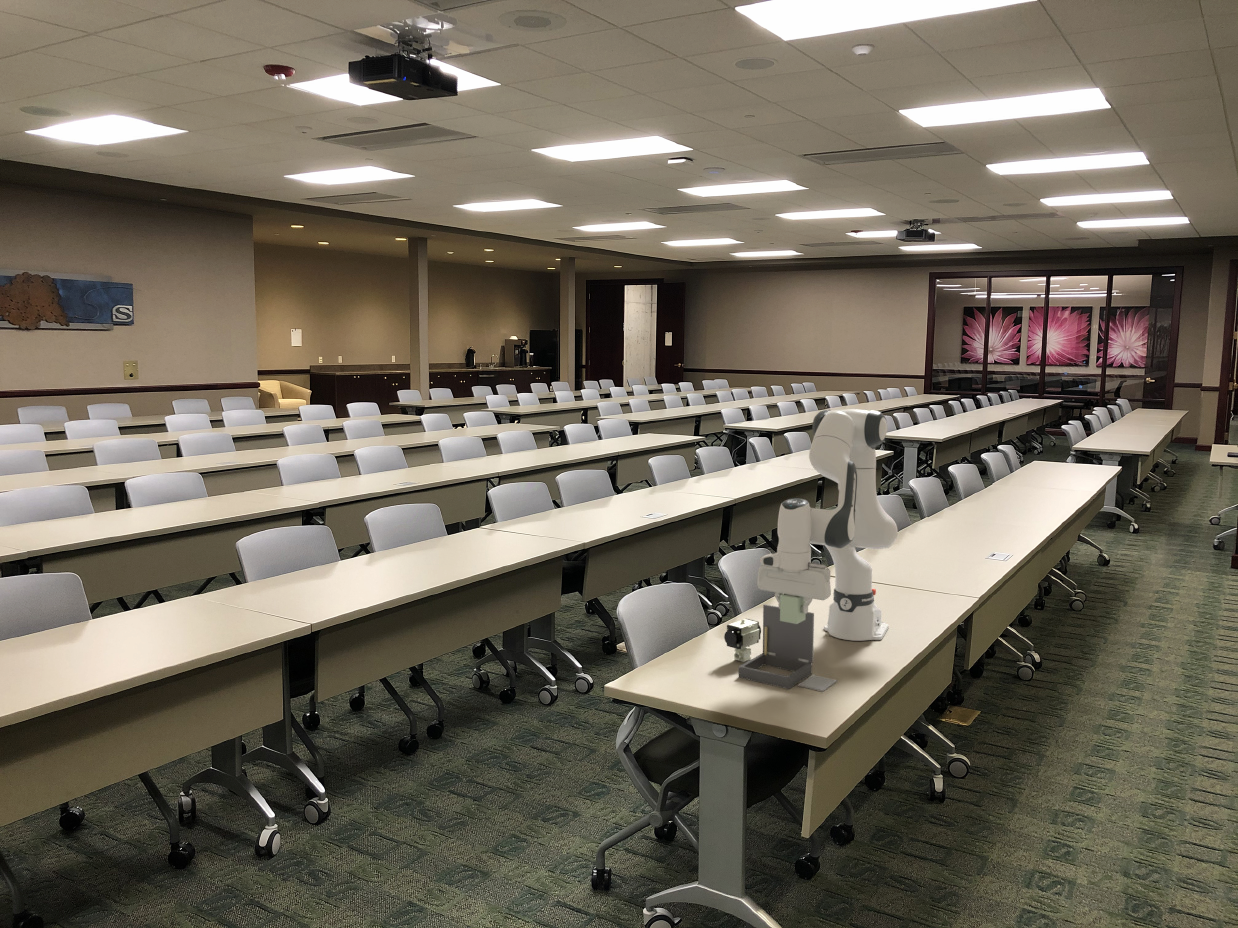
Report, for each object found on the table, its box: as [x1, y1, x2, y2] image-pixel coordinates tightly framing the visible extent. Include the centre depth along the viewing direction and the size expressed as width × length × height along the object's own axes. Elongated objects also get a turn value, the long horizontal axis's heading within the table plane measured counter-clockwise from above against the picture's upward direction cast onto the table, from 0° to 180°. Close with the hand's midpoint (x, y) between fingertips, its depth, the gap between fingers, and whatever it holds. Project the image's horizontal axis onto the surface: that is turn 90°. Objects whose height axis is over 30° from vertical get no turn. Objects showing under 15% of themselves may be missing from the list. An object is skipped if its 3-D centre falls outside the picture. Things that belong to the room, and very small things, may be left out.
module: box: [780, 594, 806, 624], centre depth 241 cm, size 5×5×8 cm
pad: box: [797, 674, 838, 693], centre depth 239 cm, size 9×7×1 cm
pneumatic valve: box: [723, 618, 762, 663], centre depth 257 cm, size 6×12×12 cm, turn 135°
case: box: [738, 604, 815, 690], centre depth 245 cm, size 15×15×17 cm
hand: (793, 610), depth 241 cm, fingers closed on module, 5 cm apart
